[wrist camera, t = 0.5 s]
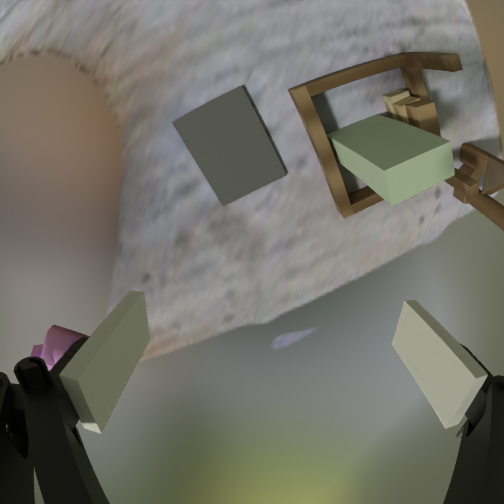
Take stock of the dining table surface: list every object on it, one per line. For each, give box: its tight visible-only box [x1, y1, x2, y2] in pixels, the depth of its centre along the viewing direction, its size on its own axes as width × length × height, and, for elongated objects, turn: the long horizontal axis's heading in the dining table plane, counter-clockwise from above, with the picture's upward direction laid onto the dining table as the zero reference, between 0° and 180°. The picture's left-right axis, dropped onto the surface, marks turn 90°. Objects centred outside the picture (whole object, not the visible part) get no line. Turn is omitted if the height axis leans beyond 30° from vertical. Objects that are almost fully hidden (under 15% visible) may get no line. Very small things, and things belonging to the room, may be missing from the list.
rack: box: [288, 52, 479, 218], centre depth 31 cm, size 20×20×12 cm
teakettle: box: [30, 325, 90, 371], centre depth 50 cm, size 17×17×12 cm
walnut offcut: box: [405, 99, 441, 137], centre depth 30 cm, size 7×4×3 cm, turn 24°
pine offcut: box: [382, 89, 410, 121], centre depth 34 cm, size 9×4×3 cm, turn 28°
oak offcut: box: [392, 96, 420, 124], centre depth 33 cm, size 8×4×3 cm, turn 31°
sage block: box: [326, 114, 455, 206], centre depth 30 cm, size 4×9×16 cm, turn 116°
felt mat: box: [172, 86, 286, 206], centre depth 36 cm, size 14×10×1 cm
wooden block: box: [453, 144, 504, 231], centre depth 33 cm, size 4×11×18 cm, turn 3°
